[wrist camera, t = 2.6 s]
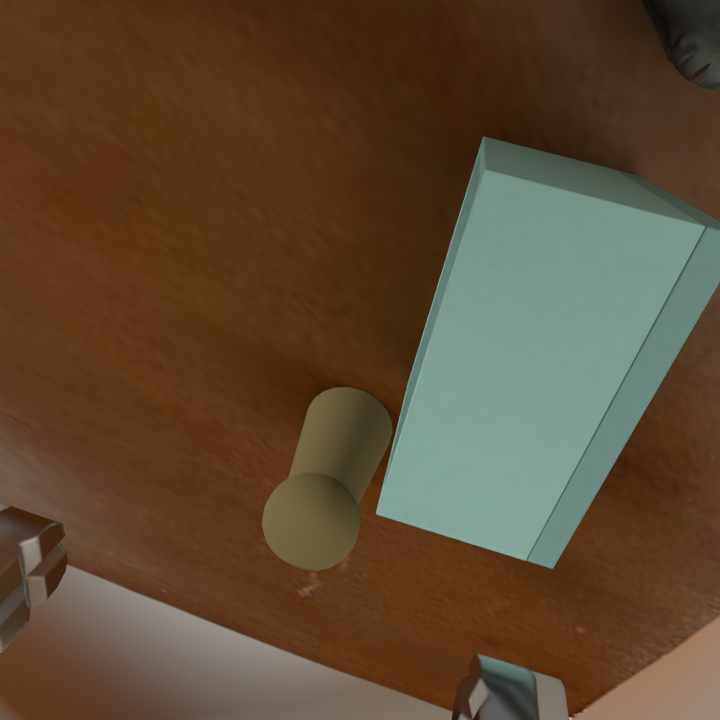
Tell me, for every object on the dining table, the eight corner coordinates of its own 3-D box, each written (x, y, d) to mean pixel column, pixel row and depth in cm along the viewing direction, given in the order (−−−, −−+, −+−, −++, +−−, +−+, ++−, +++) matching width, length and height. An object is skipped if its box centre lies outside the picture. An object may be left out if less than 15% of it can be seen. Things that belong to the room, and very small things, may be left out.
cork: (409, 442, 36) (383, 570, 27) (338, 472, 39) (291, 600, 29) (360, 372, 35) (314, 483, 25) (289, 408, 37) (222, 522, 27)
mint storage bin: (407, 383, 34) (375, 514, 24) (483, 135, 27) (484, 168, 16) (530, 418, 34) (553, 570, 23) (641, 176, 26) (747, 236, 16)
